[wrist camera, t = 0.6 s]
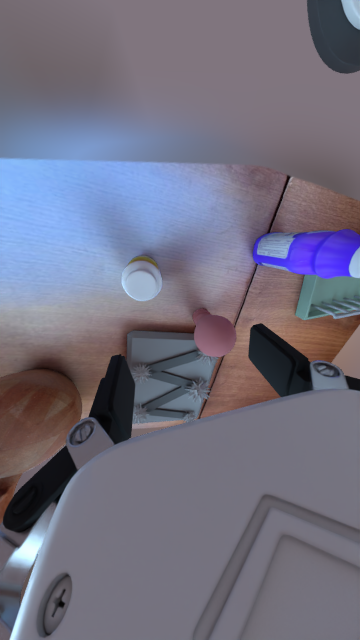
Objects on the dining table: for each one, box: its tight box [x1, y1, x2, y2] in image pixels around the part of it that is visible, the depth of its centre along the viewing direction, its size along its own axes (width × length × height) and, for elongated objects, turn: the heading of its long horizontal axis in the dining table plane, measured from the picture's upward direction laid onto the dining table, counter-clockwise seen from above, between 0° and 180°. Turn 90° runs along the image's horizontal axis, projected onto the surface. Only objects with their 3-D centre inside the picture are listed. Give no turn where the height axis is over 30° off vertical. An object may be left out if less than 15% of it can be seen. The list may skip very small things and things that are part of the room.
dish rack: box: [295, 275, 360, 320], centre depth 34 cm, size 14×18×7 cm
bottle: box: [253, 229, 360, 279], centre depth 24 cm, size 7×6×17 cm
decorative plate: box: [127, 330, 219, 424], centre depth 39 cm, size 30×22×7 cm
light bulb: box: [193, 309, 236, 357], centre depth 30 cm, size 7×7×12 cm
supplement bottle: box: [122, 255, 162, 301], centre depth 25 cm, size 6×6×10 cm
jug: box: [0, 369, 82, 524], centre depth 28 cm, size 18×18×20 cm
